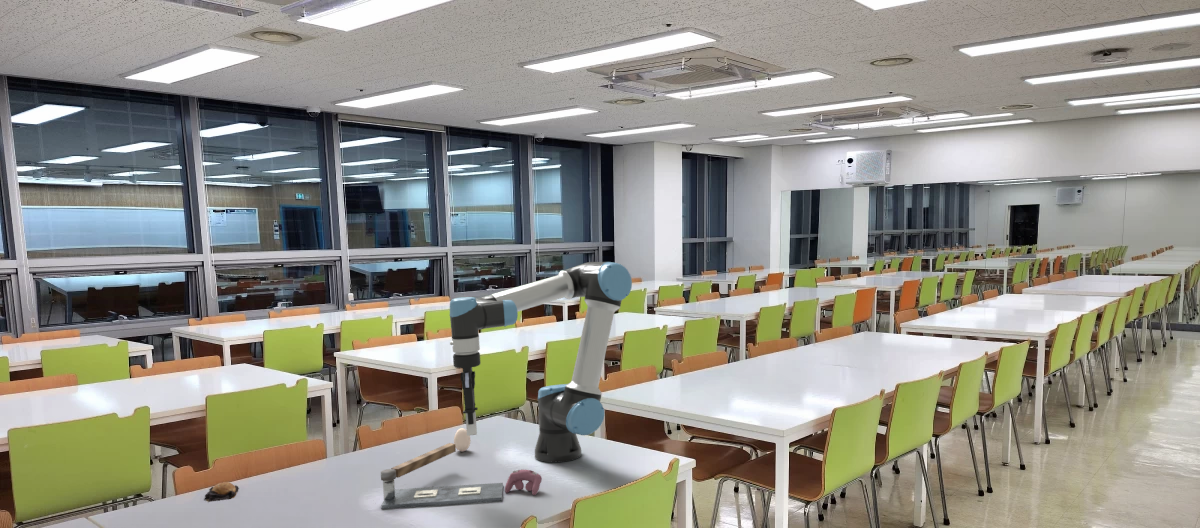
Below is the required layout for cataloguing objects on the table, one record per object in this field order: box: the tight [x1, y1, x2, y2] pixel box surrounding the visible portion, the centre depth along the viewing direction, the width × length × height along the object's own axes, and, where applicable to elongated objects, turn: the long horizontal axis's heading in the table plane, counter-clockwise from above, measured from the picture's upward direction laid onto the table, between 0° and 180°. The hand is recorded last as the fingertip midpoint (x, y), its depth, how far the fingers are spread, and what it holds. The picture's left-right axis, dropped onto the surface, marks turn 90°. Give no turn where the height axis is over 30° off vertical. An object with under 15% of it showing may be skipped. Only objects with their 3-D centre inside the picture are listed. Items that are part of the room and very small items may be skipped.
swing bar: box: [380, 442, 457, 482], centre depth 213 cm, size 30×4×2 cm, turn 154°
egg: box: [453, 427, 471, 453], centre depth 246 cm, size 6×6×8 cm
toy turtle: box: [204, 481, 240, 503], centre depth 210 cm, size 11×8×4 cm
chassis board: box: [380, 479, 504, 510], centre depth 202 cm, size 32×12×6 cm, turn 96°
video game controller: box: [504, 469, 543, 496], centre depth 206 cm, size 10×5×7 cm, turn 72°
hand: (471, 434), depth 207 cm, fingers closed
